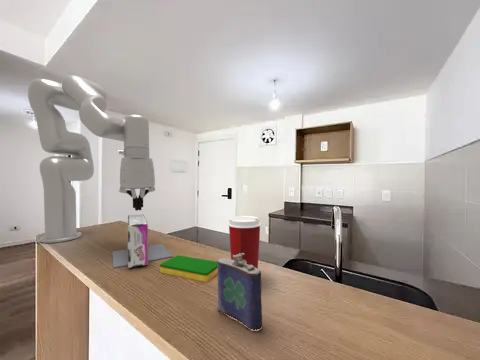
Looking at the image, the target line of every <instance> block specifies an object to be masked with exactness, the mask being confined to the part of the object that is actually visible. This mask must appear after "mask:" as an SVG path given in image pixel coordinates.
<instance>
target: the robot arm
mask: <svg viewBox="0 0 480 360" xmlns="http://www.w3.org/2000/svg"><path fill="white" fill-rule="evenodd" d="M60 81H61V82H57V81H54V80H51V79H47V78H35V79H33V80H32V81H30V83H29V85H28V90H27V97H28V98H27V100H28V103H29V106H30V108H31V111H32V112H33V114H34V117H35V121H36V126H37V130H38V136H39V142H40V146H41V149H42V150H43V151H44V152H45V153H48V154H53V155H52V156H48V157H45V158H43V159H42V160H41V161H40V164H39V173H40V177H41V181H42V188H43V202H44V203H43V207H44V209H43V210H44V215H43V216H44V235H42V236H41V237H40V238H39V242H40V243H43V244H52V243H53V244H54V243H55V244H56V243H61V242H67V241H72V240H75V239H78V238H80V237H82V232H80V231H77V230H78V228H77V195H76V189H75V187H74V186H73V184H71V182H75V181H76V182H81V181H82V182H83V181H88V180H90V179H92V177H93V176H94V172H95V165H94V160H93V154H92V149H91V145H90V142H89V139H87V137H86V136H85V135H83V134H81V133H79V132H74V131H73V132H72V131H69V130H68V129H67V127H66V120H65V117H64V116H63V115H62V113H61V112H60V111H59V110H58V109H57V108H56V106H59V107H62V108H65V109H68V110H72V111H73V110H74V111H78V114H79V116H78V117H79V119H80V122H81V124H82V125H84V127H86V129H87V130H89V131H90V133H92V135H95V136H97V137H99V138H103V139H109V140H115V141H119V142H123V149H119V150H118V155H123V157H121V161H120V167H119V184H120V186H119V190H118V191H119V193H121V194H122V193H123V194H127V195H128V196H130V197H131V198H132V209H134V210H135V211H142V208H144V198H145V197H146V196H147V194H149V193H152V192H155V191H156V187H155V185H156V178H155V176H156V175H155V167H154V161H153V158H150V133H149V132H150V126H149V125H150V123H149V119H148V117H146V116H144V115H139V114H128V115H125V116H124V118H121V117H118V116H115V115H111V114H107V113H105V111H106V109H107V107H108V103H107V99H108V96H107V92H106V90H105V88H104V87H103V86H102V85H100V84H98V83H96V82H93V81H91V80H89V79H86V78H84V77H82V76H79V75H73V74H68V75H65V76H64V77H63V78H62V79H61V80H60ZM55 155H56V156H55ZM59 155H65V156H59ZM137 189H138V190H139V194H138V195H137V192H136V190H137Z"/></svg>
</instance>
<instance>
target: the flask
mask: <svg viewBox="0 0 480 360" xmlns="http://www.w3.org/2000/svg"><path fill="white" fill-rule="evenodd" d="M241 254H242V255H244V253H239V254H237V255H233V258H234V259H235V260H231V258H228V257H227V258H226V257H222V258H219V259H217V268H218V273H217V310H219V311H220V312H222V313H225V314H227V315H229V316H231V317H233V318H235V319H237V320H238V321H240V322H242V323H243V324H244V325H246V326H247V327H248V328H250V329H253V330H255V329H256V330H257V329H260V328H261V327H262V328H263V312H262V311H263V307H262V271H261V270H260V269H259V268H258V269H257V268H255V267H254V266H253V265H248V264H246V263H247V261H245V260H244V259H242V255H241ZM219 311H218V312H219ZM220 312H219V313H220ZM238 321H237V322H238ZM244 325H243V326H244Z"/></svg>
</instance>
